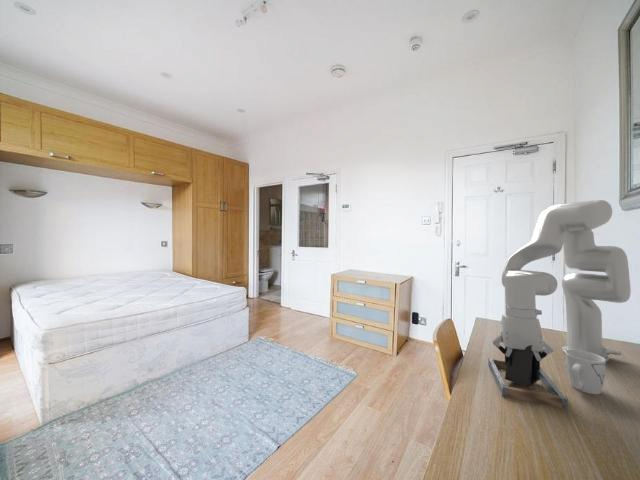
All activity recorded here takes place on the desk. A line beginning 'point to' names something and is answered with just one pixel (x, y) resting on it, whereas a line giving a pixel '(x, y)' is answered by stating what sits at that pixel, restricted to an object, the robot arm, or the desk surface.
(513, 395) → the wooden frame
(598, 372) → the mug
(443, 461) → the desk surface
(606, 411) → the desk surface
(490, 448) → the desk surface
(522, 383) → the phone stand
